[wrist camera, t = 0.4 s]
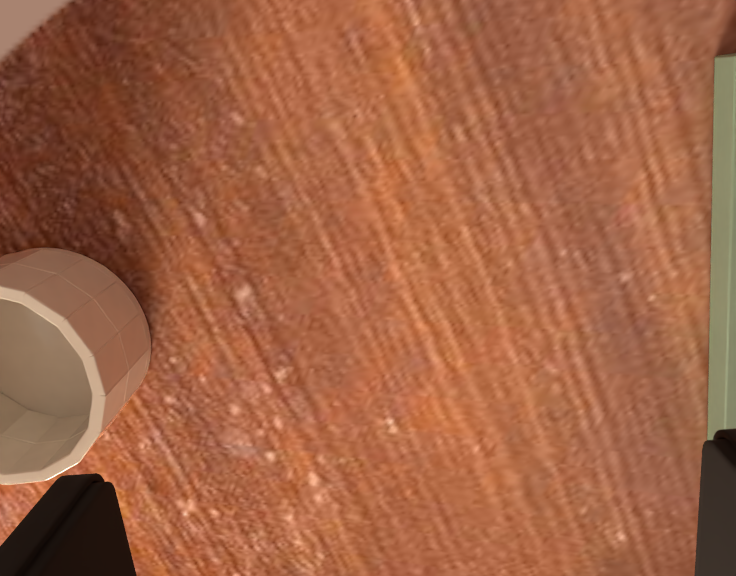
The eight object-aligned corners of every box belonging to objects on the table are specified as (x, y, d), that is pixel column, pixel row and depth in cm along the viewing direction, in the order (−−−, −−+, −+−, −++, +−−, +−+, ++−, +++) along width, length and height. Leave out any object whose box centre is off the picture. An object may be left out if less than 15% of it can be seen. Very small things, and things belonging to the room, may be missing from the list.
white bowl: (-59, 260, 25) (-153, 297, 20) (125, 235, 24) (68, 268, 20) (0, 428, 27) (-74, 494, 22) (170, 409, 26) (128, 472, 22)
